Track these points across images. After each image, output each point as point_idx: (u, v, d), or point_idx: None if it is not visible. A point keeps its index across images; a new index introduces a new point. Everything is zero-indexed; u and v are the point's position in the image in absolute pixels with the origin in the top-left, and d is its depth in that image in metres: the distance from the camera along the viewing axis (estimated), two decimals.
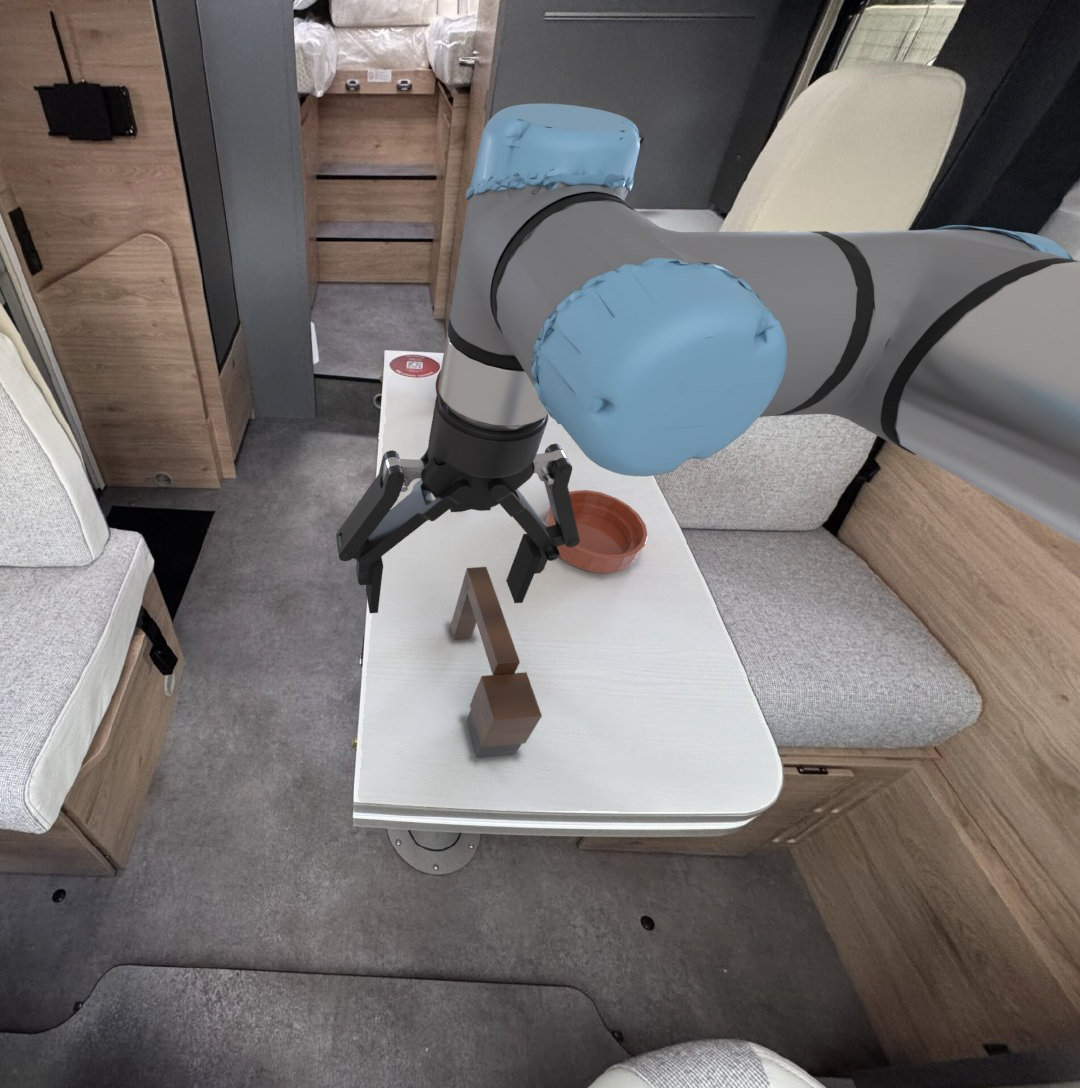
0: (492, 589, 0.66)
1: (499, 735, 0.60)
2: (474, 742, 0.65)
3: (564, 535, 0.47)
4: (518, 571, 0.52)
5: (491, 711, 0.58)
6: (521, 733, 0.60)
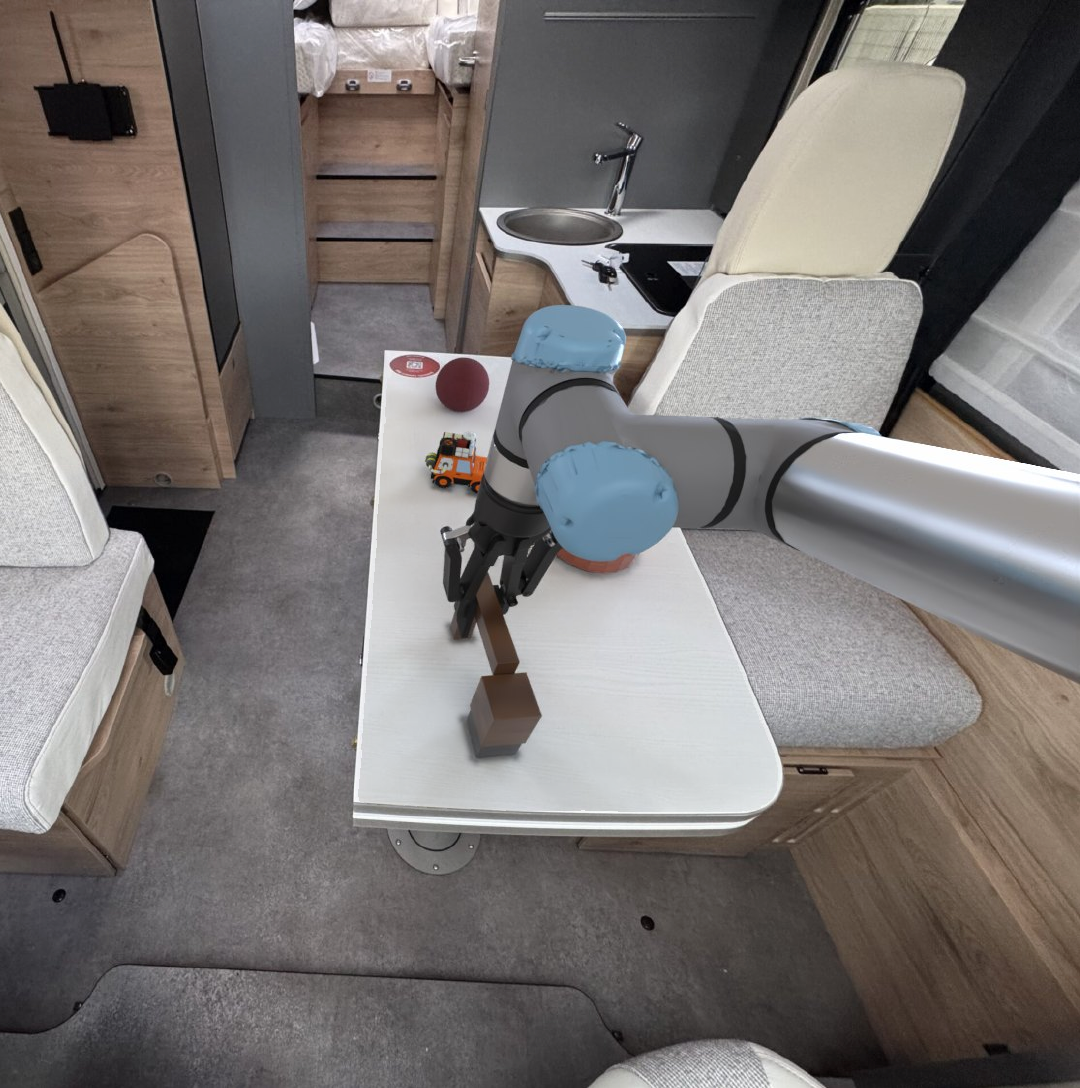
0: (492, 589, 0.66)
1: (499, 735, 0.60)
2: (474, 742, 0.65)
3: (528, 586, 0.63)
4: None
5: (491, 711, 0.58)
6: (521, 733, 0.60)
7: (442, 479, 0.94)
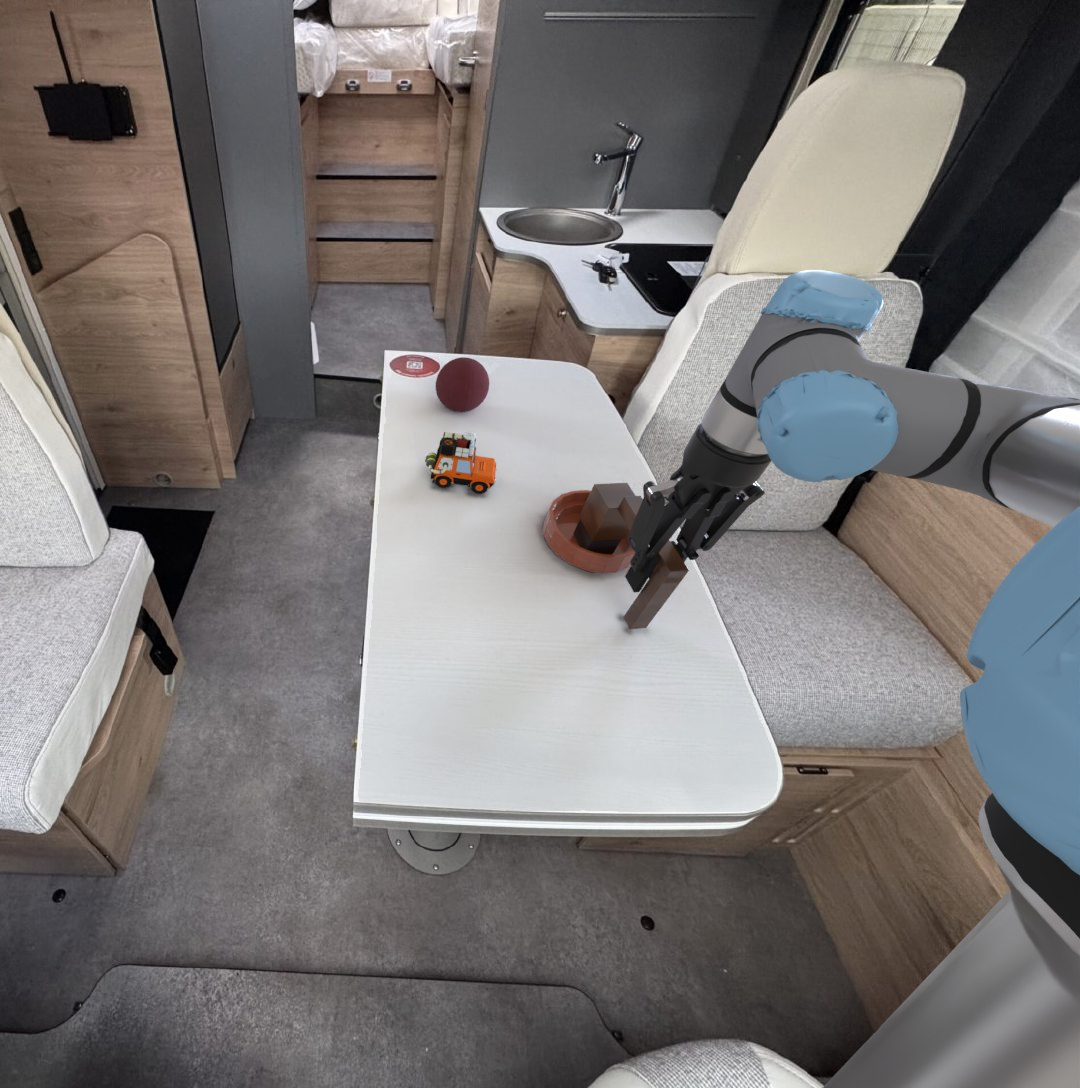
0: None
1: None
2: None
3: None
4: None
5: None
6: None
7: (442, 479, 0.94)
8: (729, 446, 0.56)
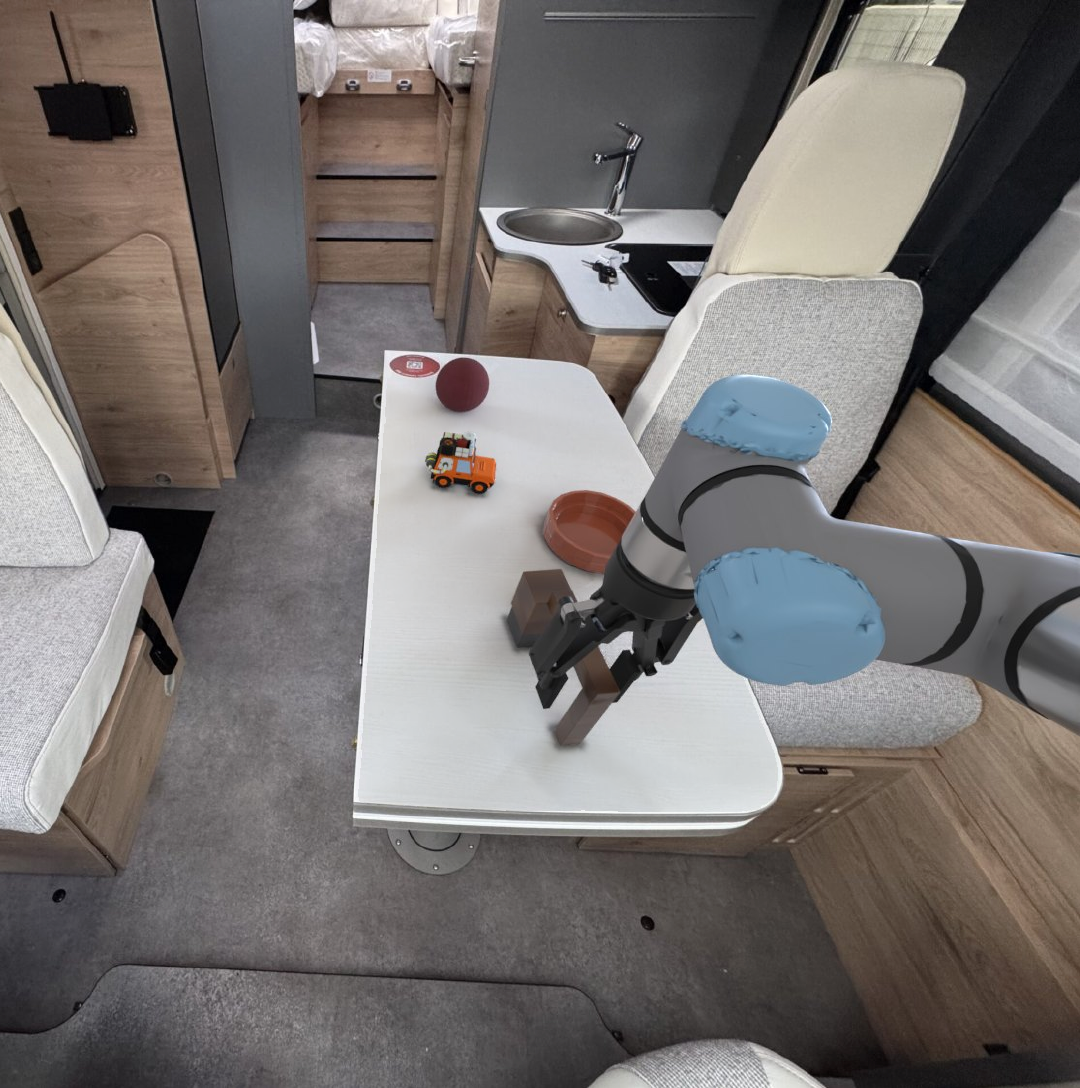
0: (586, 663, 0.59)
1: None
2: None
3: None
4: None
5: None
6: None
7: (442, 479, 0.94)
8: (651, 577, 0.45)
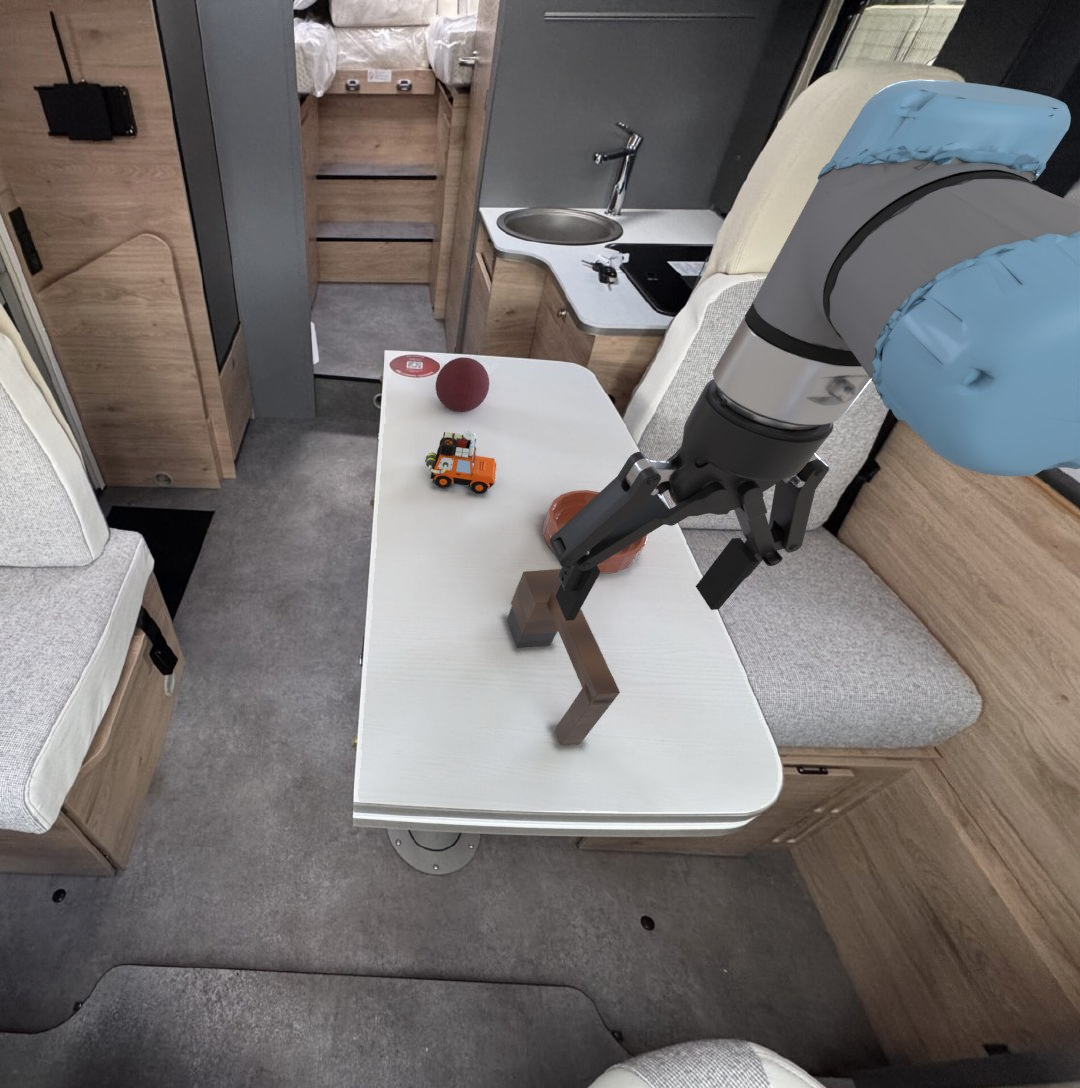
0: (586, 663, 0.59)
1: None
2: None
3: None
4: None
5: None
6: None
7: (442, 479, 0.94)
8: (760, 412, 0.34)
